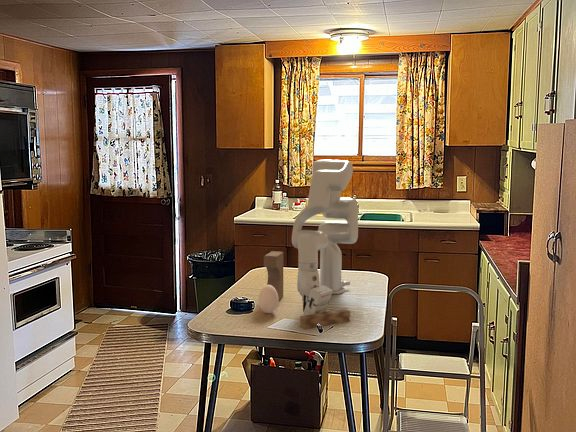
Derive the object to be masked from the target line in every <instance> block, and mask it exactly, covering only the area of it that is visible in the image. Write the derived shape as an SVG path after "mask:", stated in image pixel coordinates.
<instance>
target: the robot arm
mask: <svg viewBox="0 0 576 432" xmlns="http://www.w3.org/2000/svg"><path fill="white" fill-rule="evenodd" d="M311 169H312V175H311V180H310V184H309V185H310V186H309V191H308V198H307V205H306V206H305V207H304V208H303V209H302V210H301V211H300V212H299V213H298V214H297V216H296V217H295V219H294V222H293V226H292V233H291V243H292V246H293V247H294V248H295V249H297V250H298V253H297V258H298V259H297V261H298V263H297V266H298V267H297V284H296V287H297V292H298V293H299V295H300V296H301V300H302V313H304V310H305V306H306V303H307V300H308V297H309V294H310V291H311V289H313V288H316V287H319V286H322V285H325V286H327V287H328V288H330V289H332V290H333V292H332V295H340V294H343V293H344V292H345V290H346V289H345V286H350V285H351V281H350V280H347V281H346V280H342V263H343V262H342V260H343V258H342V255H343V254H342V250H341V248H340V247H339V246H338V244H348V245H351V244H355V243H356V242H357V240H358V238H359V207H358V206H359V205H358V202H357V200H356V199H354V198H352V197H342V195H341V192H342V191H343V192H344V191H345V190H346V188H347V187H348V185H349V183H350V181H351V179H352V177H353V173H354V166H353V163H352V162H351V161H349V160H345V159H344V160H343V159H342V160H341V159H318V160H316V161H313V162H312V165H311ZM320 214H321V215H322V217H324V218H325V219H330V220H329V221H322V222H321V223H320V224H319V225H318V228H317V229H318V230H312V229H311V230H310V229H302V228H303V225H304V224H305V222H306V221H308V220H309V219H311V218H312V217H315V216H317V215H320ZM331 219H332V220H331ZM337 220H345V221H337ZM319 252H320V254H319ZM318 255H319V256H318ZM318 257H320V258H319V259H318ZM318 260H320V261H318ZM319 262H320V263H319ZM319 265H320V266H319ZM318 266H319V270H318Z"/></svg>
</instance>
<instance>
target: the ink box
mask: <svg viewBox="0 0 576 432" xmlns="http://www.w3.org/2000/svg"><path fill="white" fill-rule="evenodd" d="M332 292H333V290H332V289H330V288H328V287H327V286H325V285H322V286H319V287H316V288H313V289H311V291H310V294H309V297H308V300H307V303H306V306H305V310H304V312H302V316H305V315H311V314H317V313H323V312H327V309H328V307H329V304H330V300H331V297H332V295H333V294H332Z"/></svg>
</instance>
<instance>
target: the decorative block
mask: <svg viewBox="0 0 576 432" xmlns="http://www.w3.org/2000/svg"><path fill="white" fill-rule="evenodd" d="M263 267H264V268H266V271H267V283H266V285H271V286H273V287H274V288H275V289H276V291H277V294H278V298H279V301H280V300H281V299H282V298H283V297H284V252H283V251H279V250H278V251H275V250H271V251H270V252H268V253H266V254H265V255H264V256H263Z"/></svg>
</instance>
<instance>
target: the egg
mask: <svg viewBox="0 0 576 432" xmlns="http://www.w3.org/2000/svg"><path fill="white" fill-rule="evenodd" d="M279 301H280V300H279V298H278V294H277V291H276V289H275V288H274V287H273V286H271V285H267V284H266V285H264V286H263V287H262V288H261V290H260V291H259V294H258V301H257V302H258V306H259V309H260V310H261V311H262V312H263V313H265V314H273V312H275V311H276V310H277V308H278V305H279Z"/></svg>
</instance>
